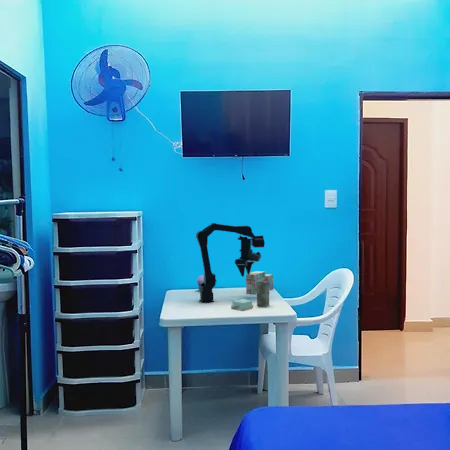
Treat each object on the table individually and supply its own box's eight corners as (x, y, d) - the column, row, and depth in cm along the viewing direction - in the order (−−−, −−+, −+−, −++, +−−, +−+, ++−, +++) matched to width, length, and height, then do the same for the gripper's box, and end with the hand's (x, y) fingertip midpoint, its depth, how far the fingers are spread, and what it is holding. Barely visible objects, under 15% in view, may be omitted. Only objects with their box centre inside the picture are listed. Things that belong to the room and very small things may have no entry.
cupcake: (201, 289, 294) (201, 273, 294) (213, 290, 290) (213, 274, 290) (194, 291, 286) (194, 275, 286) (206, 292, 282) (206, 276, 282)
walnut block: (257, 306, 242) (256, 281, 241) (260, 304, 246) (259, 280, 246) (266, 307, 239) (265, 282, 239) (269, 305, 244) (268, 280, 243)
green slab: (232, 305, 238) (232, 301, 238) (242, 302, 243) (241, 299, 243) (242, 307, 233) (242, 303, 233) (252, 304, 238) (251, 300, 238)
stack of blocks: (265, 288, 294) (264, 269, 294) (273, 289, 290) (273, 269, 290) (246, 293, 277) (245, 273, 277) (254, 294, 273) (254, 274, 273)
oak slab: (231, 309, 238) (231, 305, 238) (241, 307, 244) (241, 302, 243) (242, 312, 232) (242, 307, 232) (253, 309, 238) (253, 304, 238)
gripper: (253, 249, 248) (253, 278, 249) (264, 246, 265) (264, 273, 266) (234, 249, 252) (234, 277, 253) (246, 246, 270) (246, 272, 270)
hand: (245, 275), depth 260 cm, fingers open, 9 cm apart
